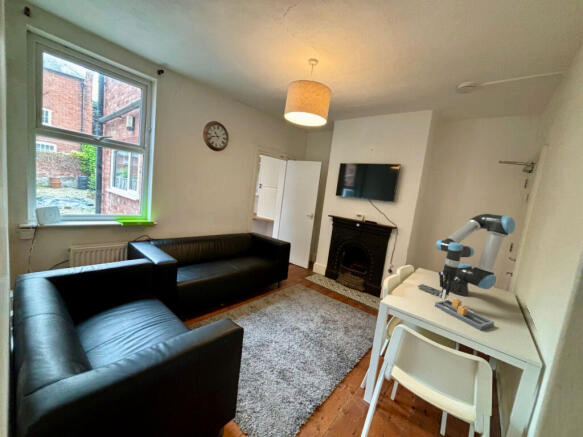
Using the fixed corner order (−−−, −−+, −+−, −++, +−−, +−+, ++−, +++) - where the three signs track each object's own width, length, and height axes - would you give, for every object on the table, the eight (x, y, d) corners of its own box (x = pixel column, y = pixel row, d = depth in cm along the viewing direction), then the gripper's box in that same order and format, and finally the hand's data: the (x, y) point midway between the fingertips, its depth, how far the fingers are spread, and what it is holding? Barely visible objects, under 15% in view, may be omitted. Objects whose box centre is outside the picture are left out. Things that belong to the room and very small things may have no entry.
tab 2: (460, 312, 141) (462, 304, 141) (466, 315, 138) (468, 307, 138) (456, 313, 140) (458, 305, 139) (462, 315, 137) (464, 308, 136)
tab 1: (455, 305, 151) (456, 297, 150) (460, 307, 148) (462, 300, 147) (451, 305, 149) (453, 298, 148) (456, 308, 146) (458, 300, 145)
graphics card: (447, 290, 172) (441, 293, 165) (446, 295, 173) (440, 298, 165) (423, 282, 185) (417, 284, 178) (422, 286, 186) (416, 289, 178)
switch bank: (447, 304, 156) (448, 299, 156) (493, 326, 133) (494, 321, 133) (434, 306, 150) (435, 302, 150) (480, 330, 127) (481, 325, 127)
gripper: (438, 262, 156) (431, 294, 159) (458, 269, 145) (450, 304, 148) (444, 261, 159) (437, 293, 163) (465, 268, 148) (457, 302, 151)
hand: (444, 298), depth 155 cm, fingers closed
